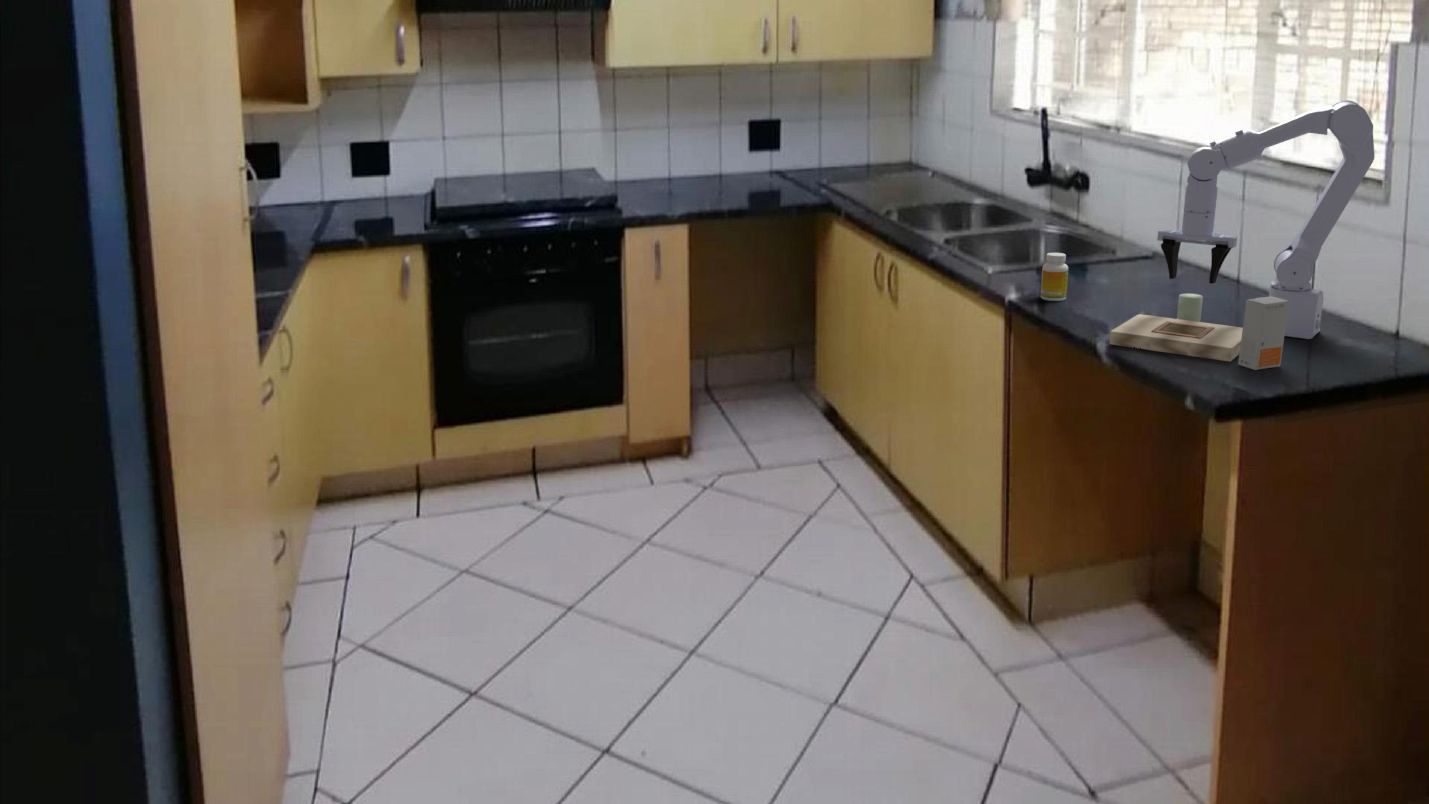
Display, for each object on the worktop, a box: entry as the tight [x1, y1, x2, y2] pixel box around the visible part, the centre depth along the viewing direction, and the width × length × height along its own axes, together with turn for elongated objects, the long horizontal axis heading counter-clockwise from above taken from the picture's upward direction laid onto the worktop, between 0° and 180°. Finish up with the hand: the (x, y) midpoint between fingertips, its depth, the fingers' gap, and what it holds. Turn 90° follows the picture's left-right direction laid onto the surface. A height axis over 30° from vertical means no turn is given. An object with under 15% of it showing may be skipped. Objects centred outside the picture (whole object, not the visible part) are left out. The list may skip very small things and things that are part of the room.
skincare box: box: [1237, 296, 1289, 371], centre depth 228 cm, size 6×4×12 cm
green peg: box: [1176, 293, 1204, 322], centre depth 256 cm, size 4×4×6 cm
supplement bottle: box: [1040, 252, 1069, 302], centre depth 279 cm, size 5×5×10 cm
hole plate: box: [1109, 313, 1243, 362], centre depth 244 cm, size 22×16×3 cm
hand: (1192, 280), depth 254 cm, fingers open, 7 cm apart
